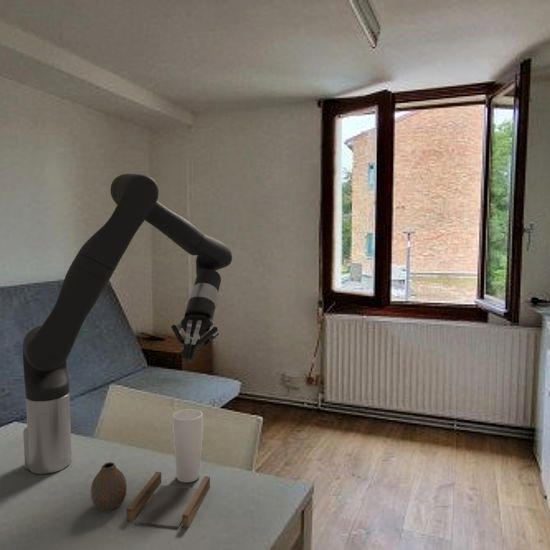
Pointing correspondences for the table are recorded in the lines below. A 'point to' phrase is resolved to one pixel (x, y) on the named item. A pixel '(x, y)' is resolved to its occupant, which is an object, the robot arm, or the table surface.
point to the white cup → (187, 443)
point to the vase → (108, 488)
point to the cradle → (167, 503)
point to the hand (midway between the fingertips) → (187, 360)
